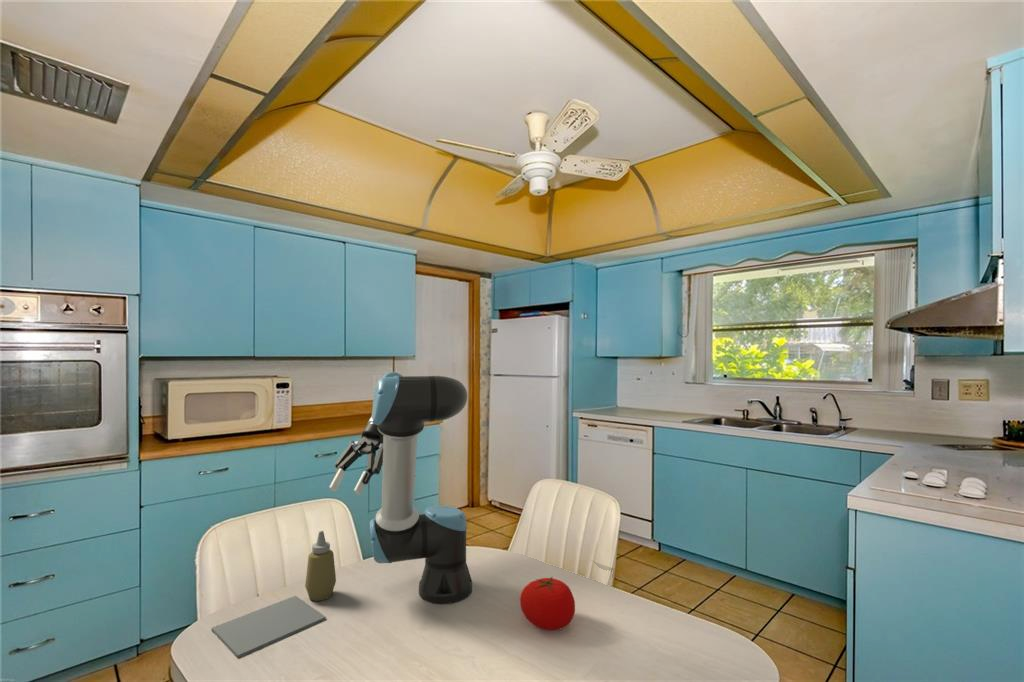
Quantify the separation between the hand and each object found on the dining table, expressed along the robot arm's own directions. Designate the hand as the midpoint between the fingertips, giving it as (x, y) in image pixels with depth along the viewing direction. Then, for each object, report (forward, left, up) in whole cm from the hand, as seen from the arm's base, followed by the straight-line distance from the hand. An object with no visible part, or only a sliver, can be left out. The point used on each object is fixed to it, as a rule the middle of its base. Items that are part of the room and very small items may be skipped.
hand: (344, 491), depth 148 cm
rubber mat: (-7, +25, -27) cm, 37 cm away
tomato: (-59, -22, -27) cm, 69 cm away
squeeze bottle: (-3, +9, -27) cm, 29 cm away
